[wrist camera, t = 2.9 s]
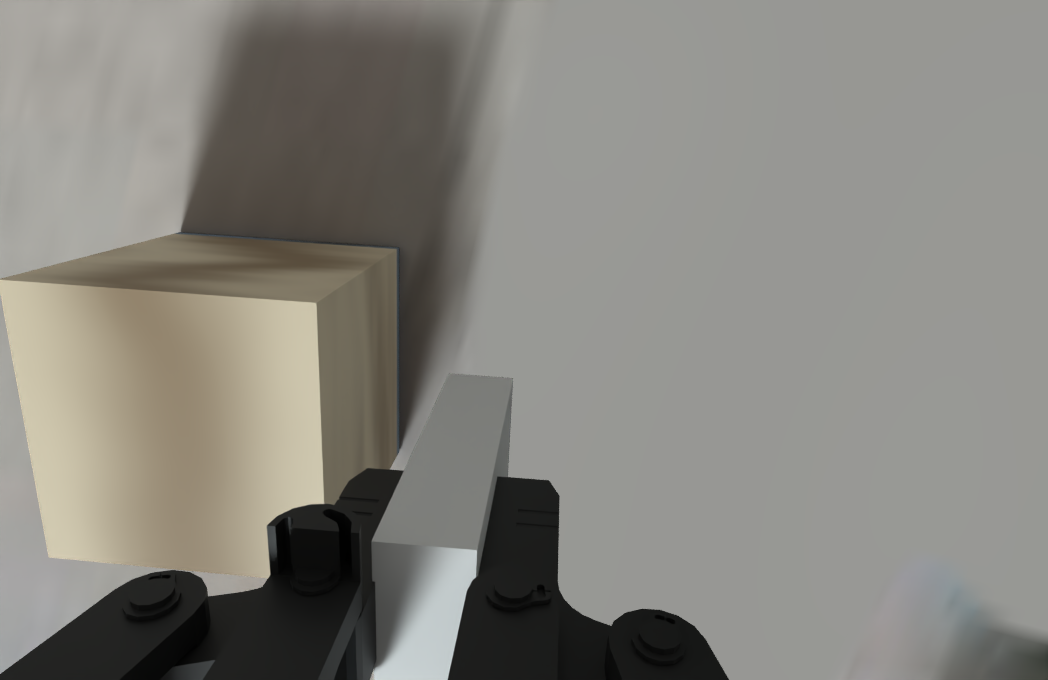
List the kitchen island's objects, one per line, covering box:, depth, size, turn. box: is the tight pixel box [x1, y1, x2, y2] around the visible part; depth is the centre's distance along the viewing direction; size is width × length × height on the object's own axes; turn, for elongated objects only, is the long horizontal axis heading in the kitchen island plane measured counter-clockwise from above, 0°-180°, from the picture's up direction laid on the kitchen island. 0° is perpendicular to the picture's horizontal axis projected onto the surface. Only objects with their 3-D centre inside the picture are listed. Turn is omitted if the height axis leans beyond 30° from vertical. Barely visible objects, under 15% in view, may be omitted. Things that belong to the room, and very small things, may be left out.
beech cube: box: [0, 232, 399, 578], centre depth 19 cm, size 7×7×7 cm
